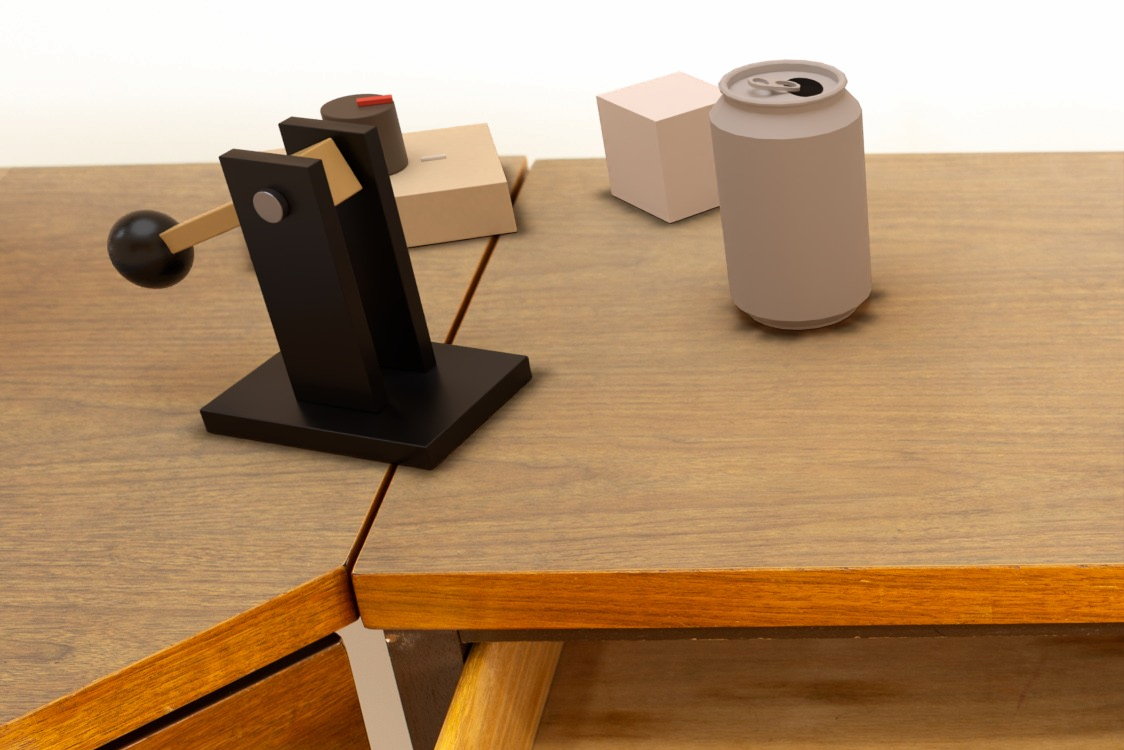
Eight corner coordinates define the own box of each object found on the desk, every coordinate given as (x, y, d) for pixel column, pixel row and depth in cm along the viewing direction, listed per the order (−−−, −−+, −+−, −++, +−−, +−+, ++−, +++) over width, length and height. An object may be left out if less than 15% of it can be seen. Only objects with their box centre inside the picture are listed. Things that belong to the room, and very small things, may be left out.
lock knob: (337, 183, 89) (319, 116, 87) (334, 158, 92) (317, 93, 90) (411, 173, 90) (395, 107, 88) (405, 149, 93) (390, 84, 91)
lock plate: (260, 268, 87) (242, 214, 85) (258, 201, 95) (242, 150, 93) (517, 231, 91) (506, 178, 89) (497, 170, 99) (486, 119, 97)
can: (891, 322, 82) (880, 90, 75) (751, 347, 80) (725, 111, 72) (848, 264, 88) (834, 43, 80) (716, 287, 85) (688, 61, 78)
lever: (125, 310, 74) (74, 240, 72) (177, 278, 77) (128, 209, 75) (332, 226, 68) (281, 147, 66) (380, 194, 70) (333, 118, 69)
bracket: (206, 432, 74) (108, 164, 66) (322, 345, 80) (246, 92, 72) (432, 470, 71) (359, 196, 63) (532, 377, 78) (478, 118, 70)
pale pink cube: (611, 195, 95) (595, 95, 92) (692, 168, 99) (679, 70, 95) (670, 223, 92) (655, 121, 88) (751, 194, 95) (740, 94, 92)
